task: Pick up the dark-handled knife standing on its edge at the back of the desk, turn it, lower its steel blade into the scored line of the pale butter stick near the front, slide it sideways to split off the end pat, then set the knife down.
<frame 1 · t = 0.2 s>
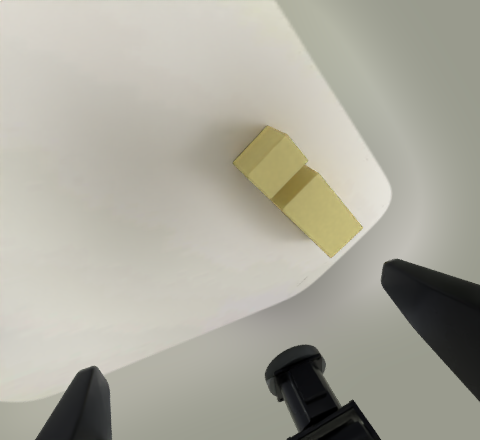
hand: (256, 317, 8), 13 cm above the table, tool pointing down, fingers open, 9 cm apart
butter pat: (260, 155, 20), on the table
butter stick: (305, 203, 23), on the table
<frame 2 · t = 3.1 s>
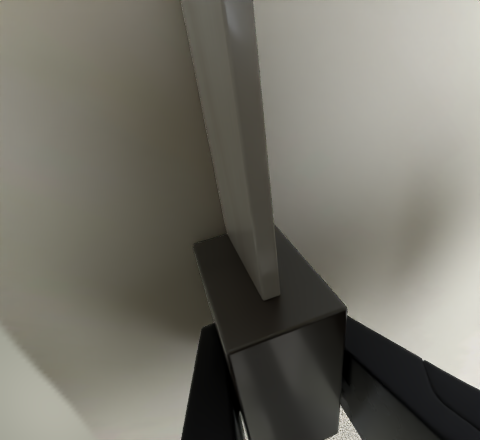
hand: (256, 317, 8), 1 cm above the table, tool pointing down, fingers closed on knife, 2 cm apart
knife: (230, 216, 8), on the table, touching gripper
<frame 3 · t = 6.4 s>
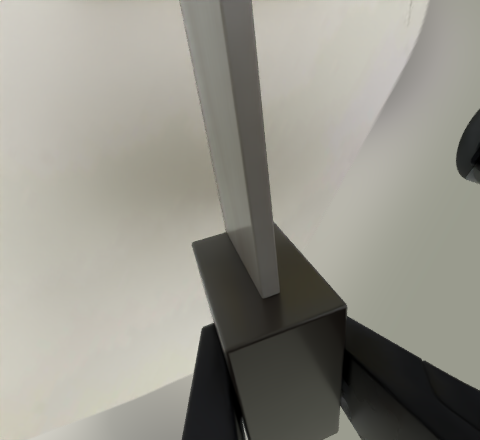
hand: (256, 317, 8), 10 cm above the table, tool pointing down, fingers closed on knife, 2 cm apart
knife: (229, 214, 8), point 9 cm above the table, touching gripper
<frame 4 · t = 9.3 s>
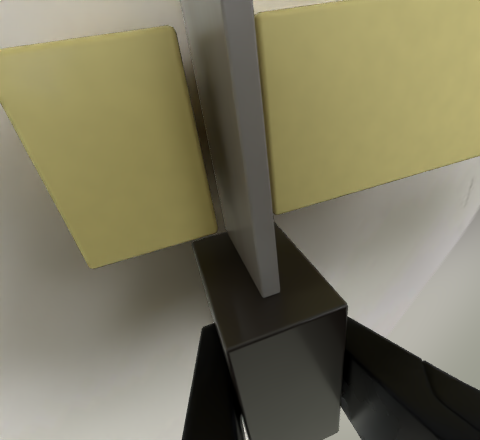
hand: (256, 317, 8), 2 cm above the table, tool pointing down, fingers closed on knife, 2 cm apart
knife: (229, 213, 8), point 1 cm above the table, touching gripper
butter pat: (130, 130, 7), on the table
butter stick: (339, 87, 8), on the table
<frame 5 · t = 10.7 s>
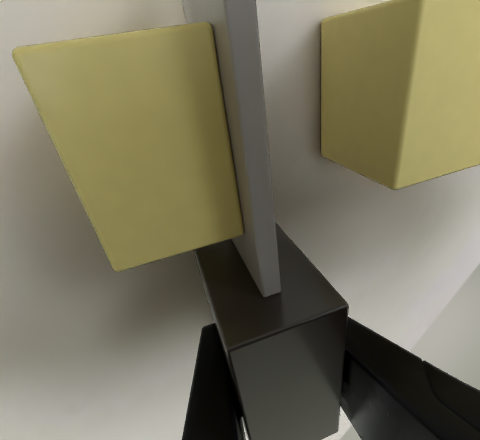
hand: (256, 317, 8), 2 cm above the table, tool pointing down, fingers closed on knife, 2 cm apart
knife: (230, 212, 8), point 1 cm above the table, touching butter pat, gripper
butter pat: (149, 130, 7), on the table, touching knife
butter stick: (423, 73, 9), on the table
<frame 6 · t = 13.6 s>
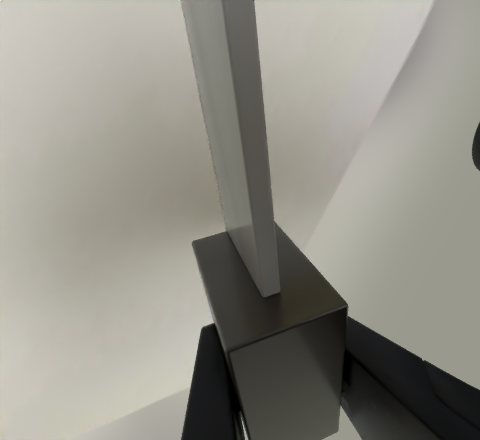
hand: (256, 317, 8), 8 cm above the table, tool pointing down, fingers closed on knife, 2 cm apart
knife: (229, 212, 8), point 7 cm above the table, touching gripper
when the fingers open (1 cm above the table, at t = 15.7 s): knife stays where it is, on the table.
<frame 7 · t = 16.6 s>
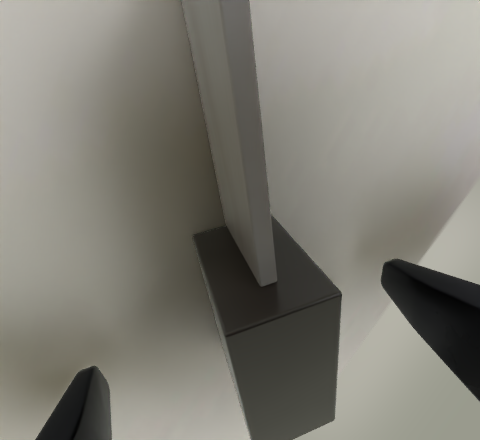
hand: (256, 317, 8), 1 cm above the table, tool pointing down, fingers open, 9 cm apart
knife: (229, 207, 8), on the table
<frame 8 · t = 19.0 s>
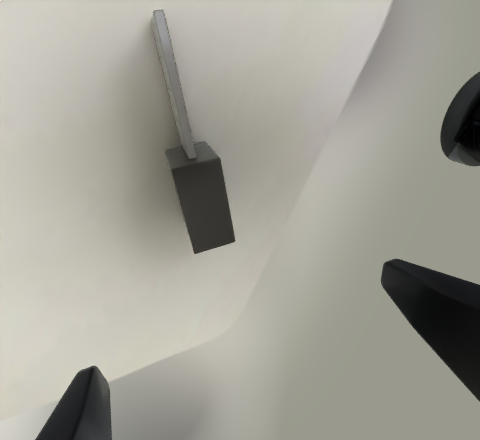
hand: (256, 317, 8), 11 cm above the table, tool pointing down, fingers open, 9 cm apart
knife: (183, 136, 16), on the table
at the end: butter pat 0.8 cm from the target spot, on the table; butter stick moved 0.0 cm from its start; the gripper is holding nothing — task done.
